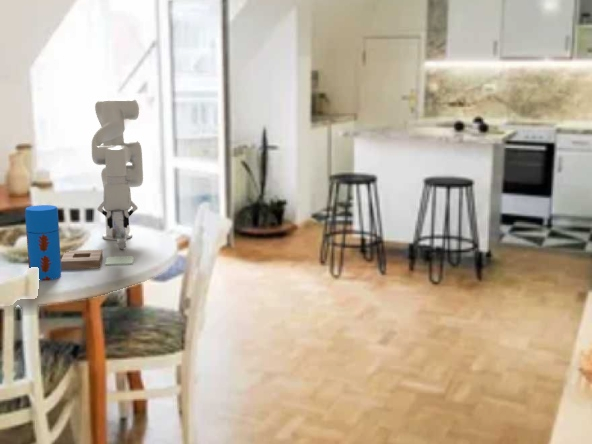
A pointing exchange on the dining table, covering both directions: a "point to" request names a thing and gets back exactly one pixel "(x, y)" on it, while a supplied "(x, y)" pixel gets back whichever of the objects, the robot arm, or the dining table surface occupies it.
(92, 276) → the dining table surface
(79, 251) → the block
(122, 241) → the light bulb
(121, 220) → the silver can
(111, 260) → the pad
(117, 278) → the dining table surface
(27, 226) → the thermos
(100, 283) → the dining table surface
